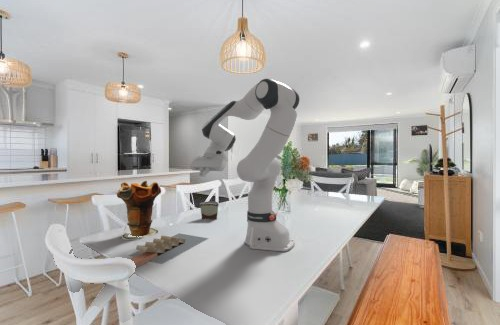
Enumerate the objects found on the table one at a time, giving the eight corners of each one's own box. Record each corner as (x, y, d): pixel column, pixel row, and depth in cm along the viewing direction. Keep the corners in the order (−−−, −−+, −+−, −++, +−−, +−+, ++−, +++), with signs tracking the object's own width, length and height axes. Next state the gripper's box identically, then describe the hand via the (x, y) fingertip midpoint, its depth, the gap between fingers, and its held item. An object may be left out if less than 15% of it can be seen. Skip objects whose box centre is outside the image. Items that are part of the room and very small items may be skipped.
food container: (221, 216, 156) (221, 201, 155) (219, 219, 150) (218, 203, 149) (202, 216, 157) (202, 201, 157) (199, 219, 151) (199, 203, 150)
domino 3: (163, 243, 104) (145, 241, 96) (172, 245, 102) (155, 243, 93) (162, 247, 103) (144, 245, 95) (171, 249, 101) (154, 247, 93)
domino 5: (176, 237, 111) (161, 235, 103) (185, 239, 109) (170, 236, 101) (176, 241, 111) (160, 239, 102) (184, 242, 108) (169, 240, 100)
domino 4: (170, 240, 108) (153, 238, 99) (179, 242, 105) (163, 240, 97) (169, 244, 107) (152, 242, 99) (178, 246, 105) (161, 244, 96)
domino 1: (156, 246, 100) (137, 245, 92) (165, 248, 98) (146, 247, 90) (155, 250, 100) (135, 249, 91) (164, 253, 98) (145, 251, 89)
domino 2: (148, 250, 96) (125, 260, 87) (157, 252, 94) (135, 263, 85) (148, 254, 97) (125, 264, 88) (157, 256, 94) (135, 267, 85)
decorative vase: (147, 224, 140) (147, 175, 138) (170, 234, 125) (170, 180, 123) (108, 233, 124) (107, 179, 122) (129, 246, 109) (128, 185, 107)
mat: (208, 240, 114) (208, 238, 114) (161, 266, 88) (161, 264, 88) (179, 234, 122) (179, 233, 122) (127, 257, 96) (127, 255, 96)
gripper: (194, 152, 134) (182, 171, 126) (225, 151, 125) (215, 172, 117) (199, 160, 138) (188, 178, 130) (230, 160, 130) (220, 180, 121)
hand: (201, 175), depth 123 cm, fingers closed
